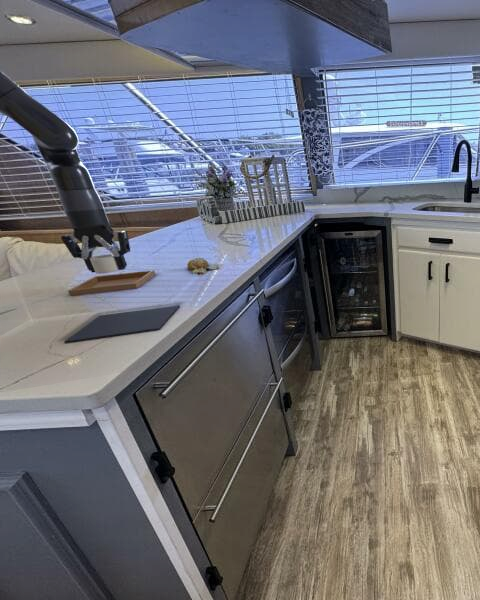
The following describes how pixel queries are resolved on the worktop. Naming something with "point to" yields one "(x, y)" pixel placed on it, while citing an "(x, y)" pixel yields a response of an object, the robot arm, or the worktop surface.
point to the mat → (124, 323)
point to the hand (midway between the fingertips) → (109, 270)
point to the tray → (112, 283)
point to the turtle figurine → (199, 266)
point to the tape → (104, 263)
